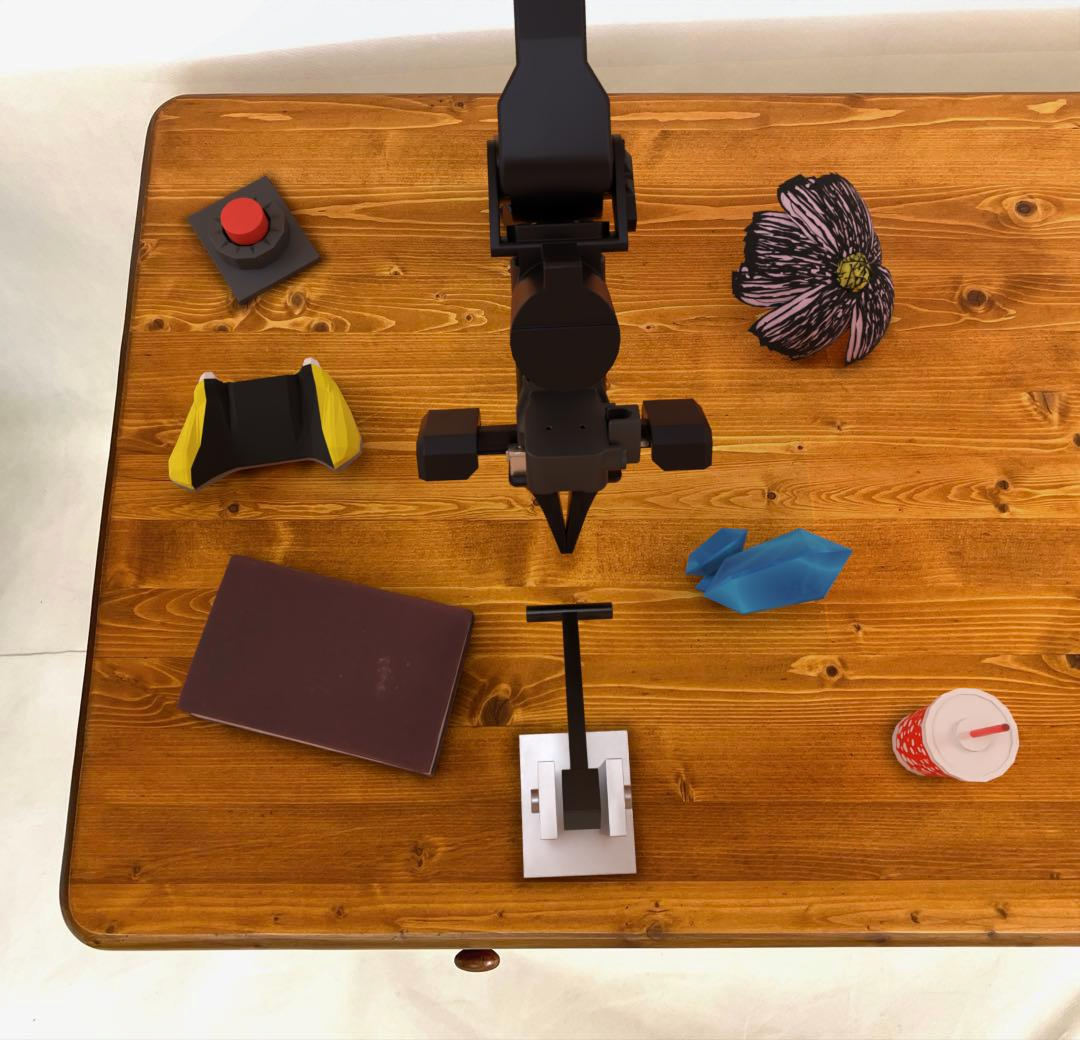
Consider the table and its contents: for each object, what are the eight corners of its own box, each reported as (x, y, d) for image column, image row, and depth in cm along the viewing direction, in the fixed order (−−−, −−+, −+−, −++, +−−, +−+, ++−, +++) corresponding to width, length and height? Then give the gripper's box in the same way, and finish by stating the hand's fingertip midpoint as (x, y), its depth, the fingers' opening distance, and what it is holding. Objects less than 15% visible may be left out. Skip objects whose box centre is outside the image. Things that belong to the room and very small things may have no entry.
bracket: (519, 735, 73) (510, 714, 58) (626, 731, 73) (644, 708, 58) (524, 877, 71) (516, 893, 55) (635, 872, 71) (656, 887, 55)
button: (219, 222, 84) (212, 210, 83) (256, 202, 85) (250, 190, 83) (238, 252, 84) (232, 241, 82) (276, 232, 84) (270, 220, 82)
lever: (526, 617, 69) (525, 596, 68) (611, 614, 69) (612, 593, 68) (532, 832, 59) (530, 814, 57) (632, 828, 59) (634, 809, 57)
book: (242, 560, 78) (229, 549, 75) (477, 616, 76) (473, 608, 73) (189, 715, 74) (173, 711, 71) (433, 778, 73) (428, 776, 70)
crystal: (669, 531, 71) (833, 479, 69) (681, 554, 79) (827, 509, 77) (700, 629, 69) (869, 579, 67) (708, 643, 77) (860, 598, 75)
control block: (188, 222, 87) (178, 205, 85) (268, 179, 88) (260, 161, 86) (241, 305, 84) (232, 290, 82) (322, 261, 86) (315, 245, 83)
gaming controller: (371, 483, 80) (360, 372, 82) (358, 459, 74) (346, 342, 77) (187, 510, 79) (182, 397, 82) (161, 488, 74) (156, 368, 77)
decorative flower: (802, 364, 71) (759, 163, 71) (722, 394, 82) (685, 220, 82) (958, 337, 76) (918, 149, 76) (863, 369, 87) (828, 205, 87)
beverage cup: (968, 712, 73) (1060, 689, 60) (960, 795, 72) (1053, 789, 58) (886, 694, 74) (960, 667, 61) (876, 776, 72) (949, 766, 59)
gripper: (394, 387, 53) (422, 623, 61) (736, 371, 53) (721, 610, 61) (413, 325, 63) (435, 535, 71) (702, 312, 63) (693, 524, 71)
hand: (566, 551), depth 68 cm, fingers closed
